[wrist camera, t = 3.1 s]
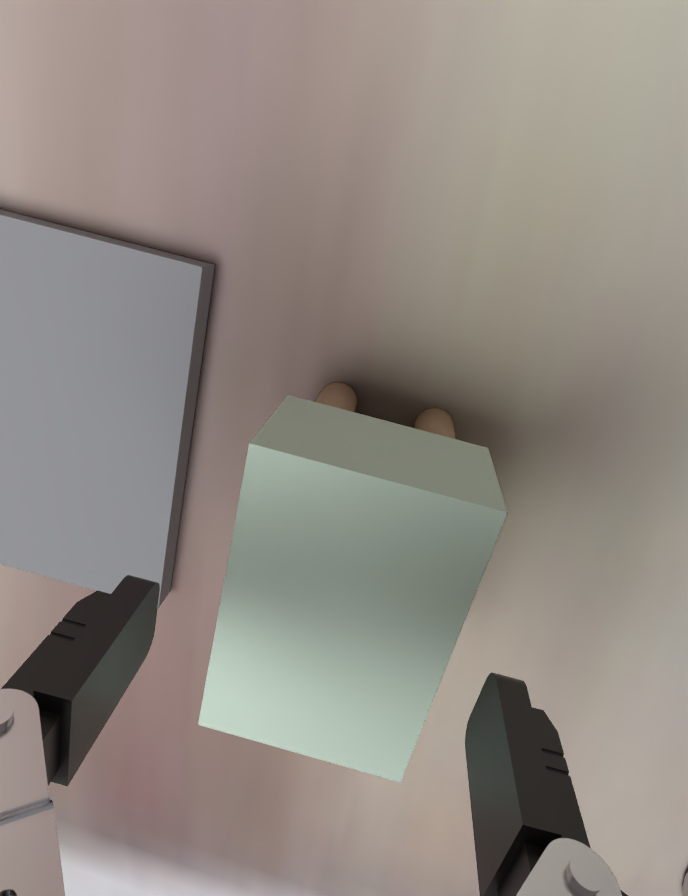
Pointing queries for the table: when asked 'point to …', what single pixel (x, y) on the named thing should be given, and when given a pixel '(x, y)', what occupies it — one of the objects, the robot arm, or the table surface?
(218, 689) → the mint green toy brick
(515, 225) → the table surface
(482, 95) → the table surface
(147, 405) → the mat
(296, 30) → the table surface
